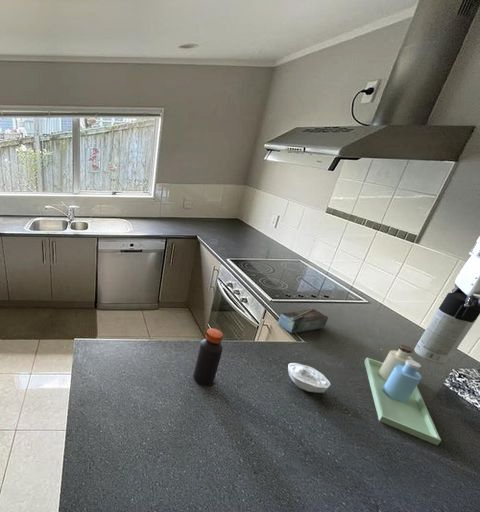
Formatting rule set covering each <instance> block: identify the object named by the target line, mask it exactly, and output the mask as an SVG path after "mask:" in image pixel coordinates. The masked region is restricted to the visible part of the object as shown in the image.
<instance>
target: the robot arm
mask: <svg viewBox="0 0 480 512" xmlns="http://www.w3.org/2000/svg"><path fill="white" fill-rule="evenodd" d="M468 254H469V255H470V257H469V258H468V259H467V261H466V262H465V264H464V265H463V267H461V269H460V271H459V272H458V274H457V276H456V278H455V281H454V286H455V287H454V288H453V289H452V290H451V293H454V292H456V293H464V294H466V295H467V298H466V301H465V304H464V305H461V306H460V308H459V310H458V311H457V313H456V314H455V316H454V317H455V318H456V319H459V320H463V321H467V322H471V323H472V322H474V320H475V319H476V317H477V316H478V314H479V313H480V235H478V238H477V240H476V241H475V242H474V244H473V246H472V247H471V249H470V251H469V252H468ZM472 298H474V299H478V301H476V300H475V301H473V302H471V301H472ZM478 317H479V316H478ZM476 320H477V319H476ZM474 323H475V322H474Z"/></svg>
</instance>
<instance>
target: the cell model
mask: <svg viewBox="0 0 480 512" xmlns="http://www.w3.org/2000/svg"><path fill="white" fill-rule="evenodd" d="M287 373H288V376H289V377H290V379H291V381H292V382H293V383H294V385H295V386H296V387H297V388H298V389H301V390H304V391H306V392H309V393H325V392H326V391H327V389H328V388H329V387H330V386H331V382H330V380H328V378H327V377H326V376H325V375H324V374H323V373H322V372H320V371H318V370H317V369H316V368H314V367H312V366H310V365H305V364H302V363H298V362H290V363H288V365H287Z"/></svg>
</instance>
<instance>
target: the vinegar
mask: <svg viewBox="0 0 480 512" xmlns="http://www.w3.org/2000/svg"><path fill="white" fill-rule="evenodd" d="M223 336H224V333H223V332H222V331H221V330H219V329H217V328H214V327H213V328H212V327H211V328H207V330H206V333H205V338H203V339H201V341H200V346H199V349H198V353H197V354H198V355H197V358H196V363H195V366H194V370H193V380H194V381H195V383H197V384H199V385H200V386H203V387H211V386H213V384H214V383H215V380H216V375H217V372H218V368H219V364H220V361H221V356H222V355H223V354H222V353H223V345H222V344H221V343H222V340H223Z"/></svg>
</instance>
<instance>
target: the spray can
mask: <svg viewBox="0 0 480 512" xmlns="http://www.w3.org/2000/svg"><path fill="white" fill-rule="evenodd" d="M466 298H467V295H466V294H464V293H456V292H454V293H452V292H448V293H446V296H445V297H444V299H442V302H441V304H440V305H439V307H438V308H437V309H436V312H435V313H434V315H433V316H432V318H431V320H430V322H429V324H428V325H427V327H425V330H424V332H423V333H422V335H421V337H420V339H419V340H418V342H417V344H415V347H414V349H413V352H415V354H416V355H417V356H419V357H420V358H422V359H424V360H426V361H428V362H431V363H434V364H439V365H446V364H447V363H449V361H450V360H451V358H452V357H453V355H454V354H455V352H456V351H457V350H458V348H459V346H460V345H461V343H462V342H463V340H464V339H465V337H466V336H467V335H468V333H469V331H470V330H471V328H472V327H473V326H474V324H475V323H476V321H477V319H478V318H479V316H480V313H479V314H478V316H477V317H476V319H475V320H474V322H472V323H471V322H467V321H463V320H459V319H456V318H455V317H454V316H455V314H456V313H457V311H458V310H459V308H460V306H461V305H464V304H465V301H466ZM475 300H476V301H478V299H474V298H472V301H471V302H473V301H475Z"/></svg>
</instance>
